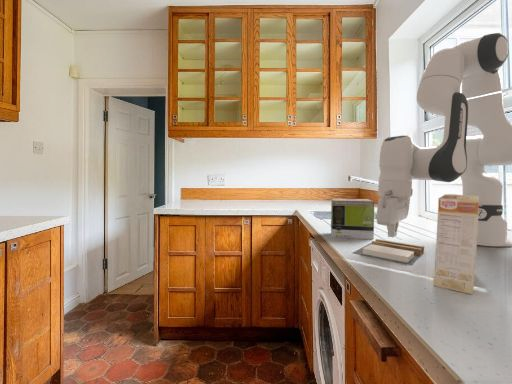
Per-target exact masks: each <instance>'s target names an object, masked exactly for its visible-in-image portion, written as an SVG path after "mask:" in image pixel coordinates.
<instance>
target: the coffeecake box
mask: <svg viewBox="0 0 512 384" xmlns="http://www.w3.org/2000/svg"><path fill="white" fill-rule="evenodd" d="M437 199H438V200H437V202H438V205H437V207H438V208H437V222H436V223H437V224H436V240H435V241H436V243H435V261H434V262H435V263H434V277H433V278H434V279H433V280H434V281H433V286H434V287H436V286H437V287H436V288H440V287H441V289H446V290H450V291H456V292H459V293H464V294H467V295H473V293H474V286H475V278H476V277H475V276H476V262H477V247H478V245H477V233H478V212H479V196H469V195H463V194H456V193H455V194H452V193H451V194H443V195H441V196H440V197H438V198H437Z"/></svg>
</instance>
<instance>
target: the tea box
mask: <svg viewBox="0 0 512 384" xmlns="http://www.w3.org/2000/svg"><path fill="white" fill-rule="evenodd" d="M330 205H331V206H330V207H331V210H330V211H331V212H330V233H331V238H332V239H333V238H343V239H345V238H347V239H362V240H374V239H375V238H374V236H375V235H374V233H375V232H374V231H375V201H374V200H372V199H370V198H369V199H368V198H331V204H330Z"/></svg>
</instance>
